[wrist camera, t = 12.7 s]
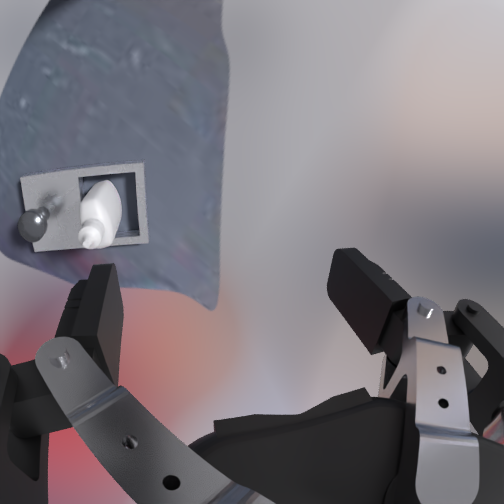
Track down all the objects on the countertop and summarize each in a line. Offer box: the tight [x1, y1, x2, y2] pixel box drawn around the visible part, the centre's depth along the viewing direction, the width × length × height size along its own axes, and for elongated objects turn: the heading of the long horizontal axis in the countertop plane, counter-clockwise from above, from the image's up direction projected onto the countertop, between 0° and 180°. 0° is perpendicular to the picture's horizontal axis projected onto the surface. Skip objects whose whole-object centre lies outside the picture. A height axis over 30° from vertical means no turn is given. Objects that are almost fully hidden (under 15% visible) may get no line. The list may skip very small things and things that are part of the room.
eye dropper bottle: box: [78, 180, 122, 249], centre depth 30 cm, size 4×6×12 cm
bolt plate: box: [18, 159, 149, 252], centre depth 32 cm, size 10×16×6 cm, turn 86°
